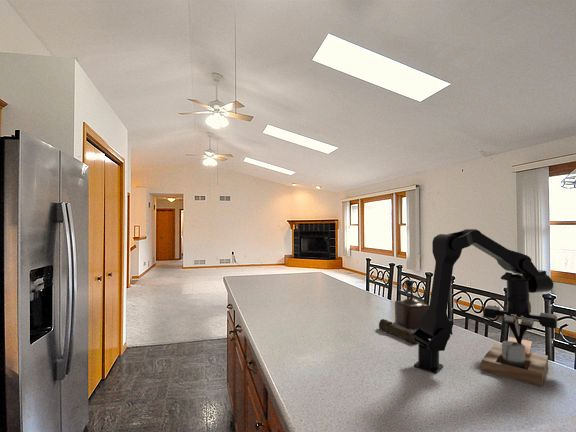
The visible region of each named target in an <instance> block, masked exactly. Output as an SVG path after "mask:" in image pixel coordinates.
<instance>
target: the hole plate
mask: <svg viewBox="0 0 576 432" xmlns="http://www.w3.org/2000/svg"><path fill="white" fill-rule="evenodd" d="M548 367H549V355H546V354H541V353H537V352H532V351H531V352H530V356H529V357H528V356H525V369H523V368H519V367H515V366H511V365H507V364H503V363H502V344H501V345H499V344H496V343H494V344H493V345H492V346H491V348H489V350H488V351H487V353H486V354H485V355H484V356H483V358H482V359H481V371H484V372H487V373H492V374H494V375H499V376H502V377H505V378H509V379H513V380H516V381H520V382H524V383H528V384H532V385H533V386H534V385H535V386H539V387H543V385H544V382H545V379H546V375H547V370H548Z"/></svg>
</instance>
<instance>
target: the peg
mask: <svg viewBox="0 0 576 432" xmlns="http://www.w3.org/2000/svg"><path fill="white" fill-rule="evenodd" d="M501 346H502V363H503V364H507V365H511V366H515V367H519V368H523V369H525V346H524V345H523V344H520V343H517V342H512V341H508V340H504V341H502V342H501Z"/></svg>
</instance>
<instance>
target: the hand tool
mask: <svg viewBox="0 0 576 432" xmlns="http://www.w3.org/2000/svg"><path fill="white" fill-rule="evenodd" d="M378 328H379V330H380V331H382V332H384V333H386V334H392V335H393V336H395V337H396V336H397V337H399V338H401V339H403V340H406V341H407V342H410V343H411V344H412V345H416V344H417V345H418V343H417V342H415V341H414V340H413V337H412V334H413V333H414V331H411V330H410V329H406V328H404V327H400V326H397V325H396V324H393V322H391V321H389V320H387V319H384V318H382V319H380V321H379V322H378Z"/></svg>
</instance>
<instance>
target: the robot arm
mask: <svg viewBox="0 0 576 432" xmlns="http://www.w3.org/2000/svg"><path fill="white" fill-rule="evenodd" d="M471 246H473V247H475V248H476V249H478V250H479V251H482V252H483V253H485V254H487V255H488V256H490V257H491V258H493V259H494V260H496V262H497V264H498V265H499V266H500V267H501V268H502V269H503V270H505V273H504V274H503V275H501V276H500V279H501V280H502V281H503V280H504V281H506V295H505V297H504V305H505V306H506V307H507V310H504V309H502V310H501V307H500V306H496V305H491V304H490V305H488V304H487V305H486V306H485V307H484V308H483V311H482V316H483V318H487V319H496V318H497V317H503V318H504V320H503V323H504V324H507V325H508V327H509V329H510V330H511V331H512V334H513V336H514V338H516V340H517V343H520V344H521V342H522V340H524V336H525V333H526V332H527V329H528V328H533V326H534V324H535V322H538V323H539V324H540V326H542V327H543V328H550V329H557V328H558V316H557V315H556V314H553V313H546V312H540V315H537V314H531V313H532V304H531V301H530V293H534V294H535V293H545V292H550V291H552V290H553V288H554V282H553V279H552V278H551V277H550V276H549V275H548V274H547V270H543V269H538V268H537V267H536V266H535V264H534V263H533V262H532V258H531V257H530V256H529V255H527V254H523V253H521V252H518V251H515V250H511V249H509V248H507V247H505V246H504V245H502V244H500V243H498V242H497V241H495V240H493V239H492V238H491V237H489V236H487V235H485V234H484V233H482V232H481V231H480V230H478V229H475V228H472V229H471V228H465V229H463V230H461V231H457V232H451V233H447V234H444V233H440V234H439V233H438V234H437V235H436V236H434V237H433V239H432V255H433V257H434V260H435V266H434V272H433V279H432V286H431V292H430V298H429V299H430V300H429V304H428V305H429V309H428V310H427V311H426V313H425V314H424V315H423V318H422V321H421V324H420V326H419V328H418V329H415V331H413V334H412V337H413V340H414V341H415V342H417V347H418V348H417V354H418V355H417V361H416V362H415V363H414V364H413V367H415V368H418V369H421V370H424V371H428V372H430V373H433V374H437V373H439V372H440V370H441V369H443V368H444V364H441V363H440V352H441V351H442V352H444V351H445V350H446V348H447V344H448V341H449V340H450V338H451V336H453V327H454V320H453V319H450V318H449V316H448V313H447V312H448V305H449V301H450V300H449V297H450V292H451V285H452V278H453V270H454V265H455V264H456V263H457V261H458V260H459V259H460V257H461V255H462V251H463V249H466V248H469V247H471ZM518 320H521V322H520V323H519V324H520V325H518Z"/></svg>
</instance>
